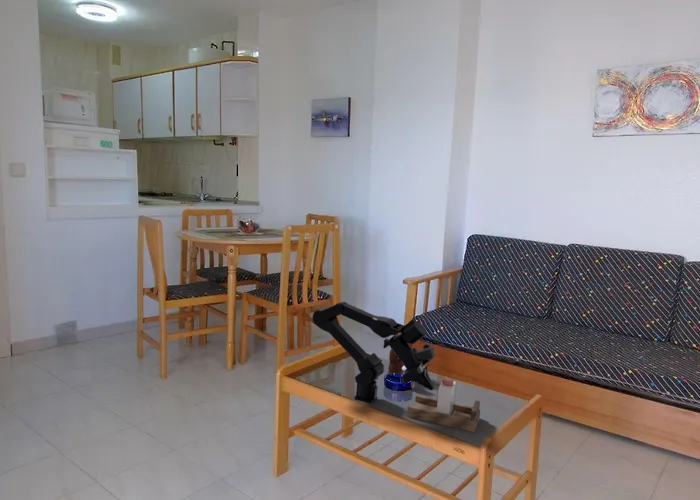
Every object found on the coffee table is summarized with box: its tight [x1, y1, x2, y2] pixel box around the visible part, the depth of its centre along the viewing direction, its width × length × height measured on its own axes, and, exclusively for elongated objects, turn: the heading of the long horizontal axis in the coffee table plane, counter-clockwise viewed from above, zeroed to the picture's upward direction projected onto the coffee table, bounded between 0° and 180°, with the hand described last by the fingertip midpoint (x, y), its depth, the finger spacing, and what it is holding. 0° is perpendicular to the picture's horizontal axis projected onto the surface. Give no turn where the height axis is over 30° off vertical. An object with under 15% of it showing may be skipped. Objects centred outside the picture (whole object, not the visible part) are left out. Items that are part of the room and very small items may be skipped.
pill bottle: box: [400, 366, 416, 389], centre depth 195 cm, size 5×5×10 cm
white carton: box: [437, 378, 457, 415], centre depth 169 cm, size 4×8×11 cm, turn 159°
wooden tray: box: [406, 394, 481, 433], centre depth 169 cm, size 22×12×6 cm, turn 69°
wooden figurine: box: [387, 332, 413, 374], centre depth 207 cm, size 12×6×18 cm, turn 151°
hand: (432, 389), depth 170 cm, fingers closed
